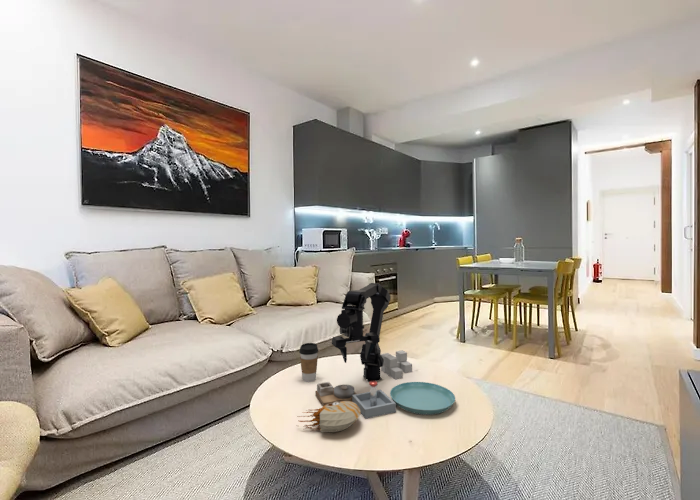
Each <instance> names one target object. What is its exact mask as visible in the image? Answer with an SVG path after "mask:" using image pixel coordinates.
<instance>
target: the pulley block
mask: <svg viewBox="0 0 700 500" xmlns="http://www.w3.org/2000/svg"><path fill="white" fill-rule="evenodd" d="M314 394H315V397H316V399H317V400H318V403H320V405H321V406H322V407H323V406H325V405H327V404H329V403H333V402H337V401H350V402H352V395H355V394H357V393H356V392H355V387H354V386H353V385H350V384H339V385H335V387H334V385H332V384H331V382H330V381H327V382H326V381H324V382H318V383H316V390H315V393H314Z"/></svg>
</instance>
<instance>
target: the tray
mask: <svg viewBox="0 0 700 500" xmlns="http://www.w3.org/2000/svg"><path fill="white" fill-rule="evenodd" d="M352 402H354V403H356V404H357V406H358V407H359V409H360V411H361V413H360V415H361V416H362V417H363V418H364V419H371V418H376V417H380V416H386V415H390V414H393V413H394V414H395V413H396V412H397V405H396V403H395V402H394V401H393V400H392V398H391V397H390V396H389V395H388V394H386V393H385V392H384V391H383V390H382V389H377V406H373V407H371V406H370V391H366V392H361V393H356V394H355V395H352Z"/></svg>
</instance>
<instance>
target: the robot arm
mask: <svg viewBox="0 0 700 500" xmlns="http://www.w3.org/2000/svg"><path fill="white" fill-rule="evenodd" d="M369 298H370V303H371V306H372V314H371V318H370V319H371V321H370V325H369V326H370V327H369V331H368V332H366V333H365V335H364V329H365V325H364V310H365V304H366V303H367V299H369ZM390 301H391V295H390V293H389V290H388V289H386V288H385V287H384V286H382V285H381V284H380V283H377V282H376V283H375V282H370V283H368V285H366V286H363V287H362V288H360V289H352V290H351V289H350V290H348V291H347V292H346V294H345V297H344V299H343V302H342V305H341V311H340V312H341V313H339V314H338V315H337V318H336V323H337V326H338V327H339V334H340V336H333V337H332V338H331V345H333V346H334V347H335V348H336V349H338V350H339V351H340V353H341V355H342V356H341V357H342V359H343V362H344V363H345V364H347V360H348V358H347V357H348V353H347V350H348V349H347V344H352V343H359V342H364V343H363V344H362V346H361V351H360V355H359V358H360V363H361V365H364V367H363V375H362V377H363V378H364V379H365V380H366V381H367V383H369V382H370V381H377V382H378V381H381V380H383V378H382V377H381V367H382V366H383V363H384V359H383V358H382V356H381V354H382V353H381V352H382V351H381V348H380V347H381V346H380V345H379V343H380V341H381V340H380V339H381V338H380V335H381V329H382V323H383V318H384V317H383V316H384V313H385V311H386V310H387V308H389V303H390ZM341 335H343V336H344V337H346V338H344V337H343V336H341Z"/></svg>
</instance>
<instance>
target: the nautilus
mask: <svg viewBox="0 0 700 500" xmlns="http://www.w3.org/2000/svg"><path fill="white" fill-rule="evenodd" d="M301 413H303V414H310V415H301V416H297V415H296V416H297V417H298V418H301V417H303V418H305V417H307V418H310V417H311V418H312V419H310V420H309V419H308V420H298V422H300V423H312V424H305V428H304V430H306V429H311V430H310V432H312V431H320V432H321V433H335V432H342V431H343V430H346V429H348V428H349V427H350V426H351V425H354V424H355V423H356V421H357V420H358V419H359V417H360V415H361V411H360V409H359V407H358V406H357V404H356V403H354V402H350V401H337V402H333V403H329V404H327V405H325V406H322V407H321V408H320V407H319V408H315V409H309V411H305V412H304V411H303V412H301ZM297 417H296V418H297ZM296 427H298V425H296Z"/></svg>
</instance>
